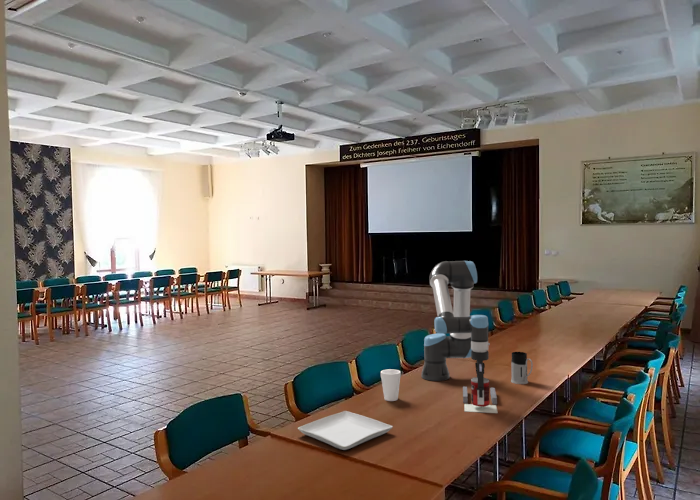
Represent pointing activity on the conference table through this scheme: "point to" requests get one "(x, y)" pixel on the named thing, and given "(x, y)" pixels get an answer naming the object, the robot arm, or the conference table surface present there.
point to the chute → (478, 408)
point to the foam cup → (390, 384)
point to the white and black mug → (520, 368)
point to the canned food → (474, 392)
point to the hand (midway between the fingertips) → (480, 401)
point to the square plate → (345, 429)
